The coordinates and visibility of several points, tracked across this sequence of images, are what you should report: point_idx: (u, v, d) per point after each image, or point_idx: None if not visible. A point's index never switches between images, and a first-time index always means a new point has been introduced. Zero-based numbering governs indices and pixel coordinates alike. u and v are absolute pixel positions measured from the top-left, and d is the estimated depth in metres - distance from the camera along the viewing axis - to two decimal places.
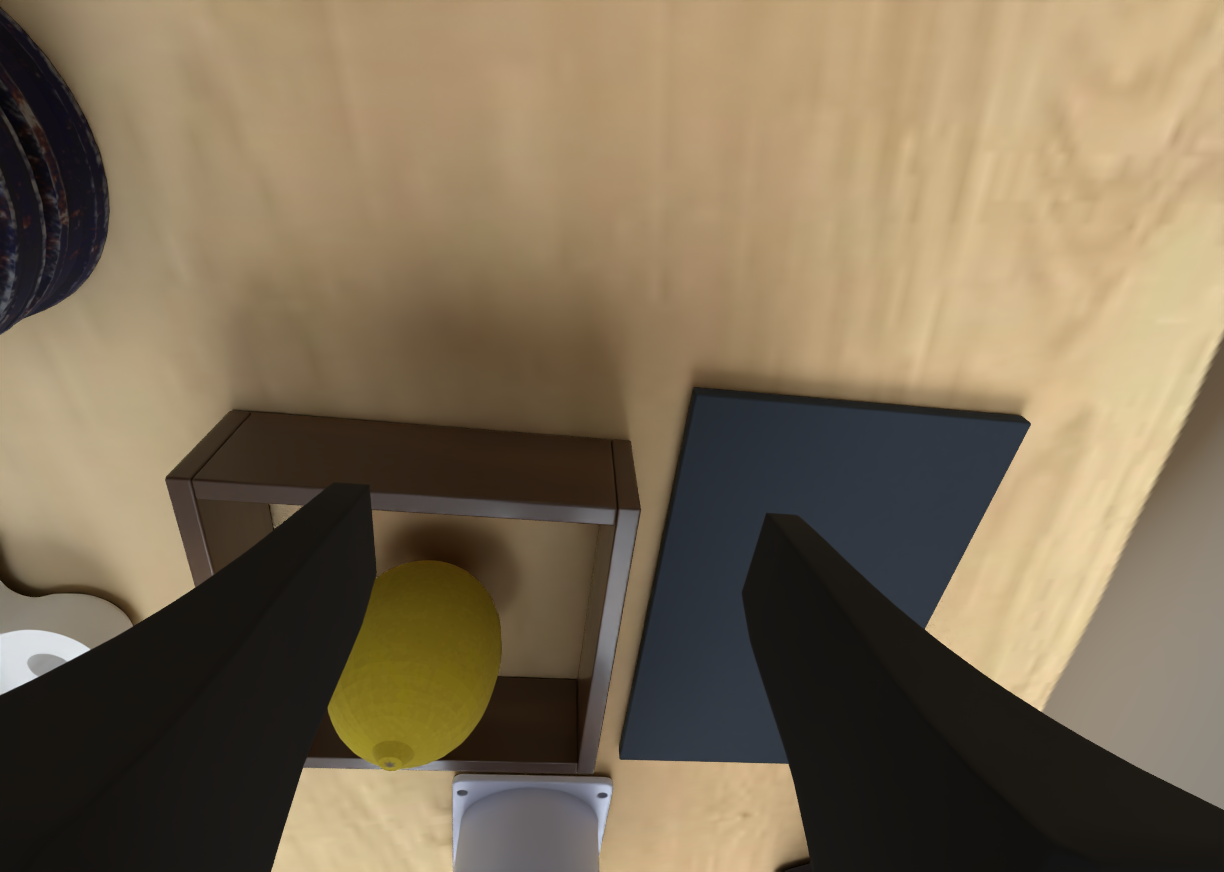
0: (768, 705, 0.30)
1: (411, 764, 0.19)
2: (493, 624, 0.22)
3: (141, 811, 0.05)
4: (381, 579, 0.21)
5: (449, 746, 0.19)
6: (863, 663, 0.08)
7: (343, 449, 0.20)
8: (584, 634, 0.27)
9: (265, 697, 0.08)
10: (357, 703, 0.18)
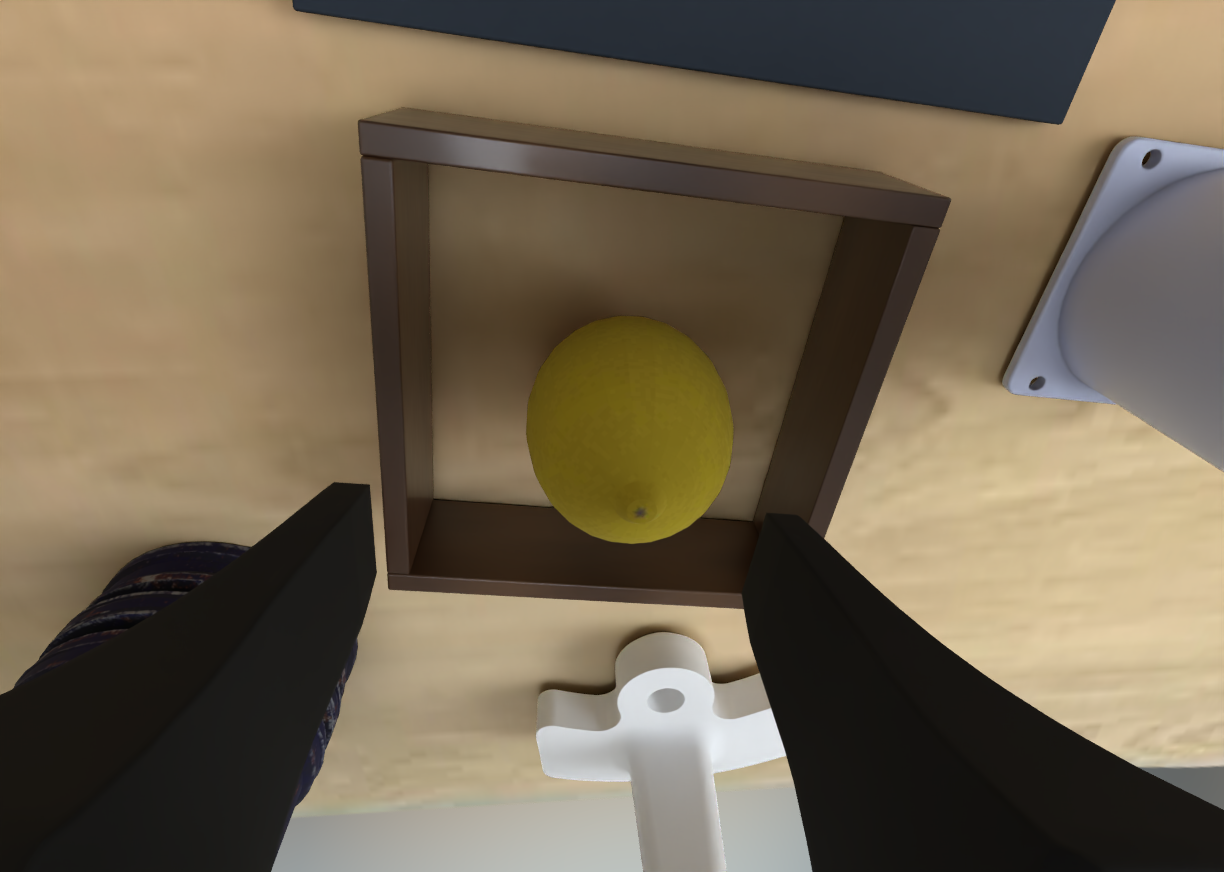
0: None
1: (673, 484, 0.14)
2: (590, 332, 0.16)
3: (139, 811, 0.05)
4: None
5: (666, 433, 0.14)
6: (863, 663, 0.08)
7: None
8: None
9: (265, 697, 0.08)
10: (577, 518, 0.15)
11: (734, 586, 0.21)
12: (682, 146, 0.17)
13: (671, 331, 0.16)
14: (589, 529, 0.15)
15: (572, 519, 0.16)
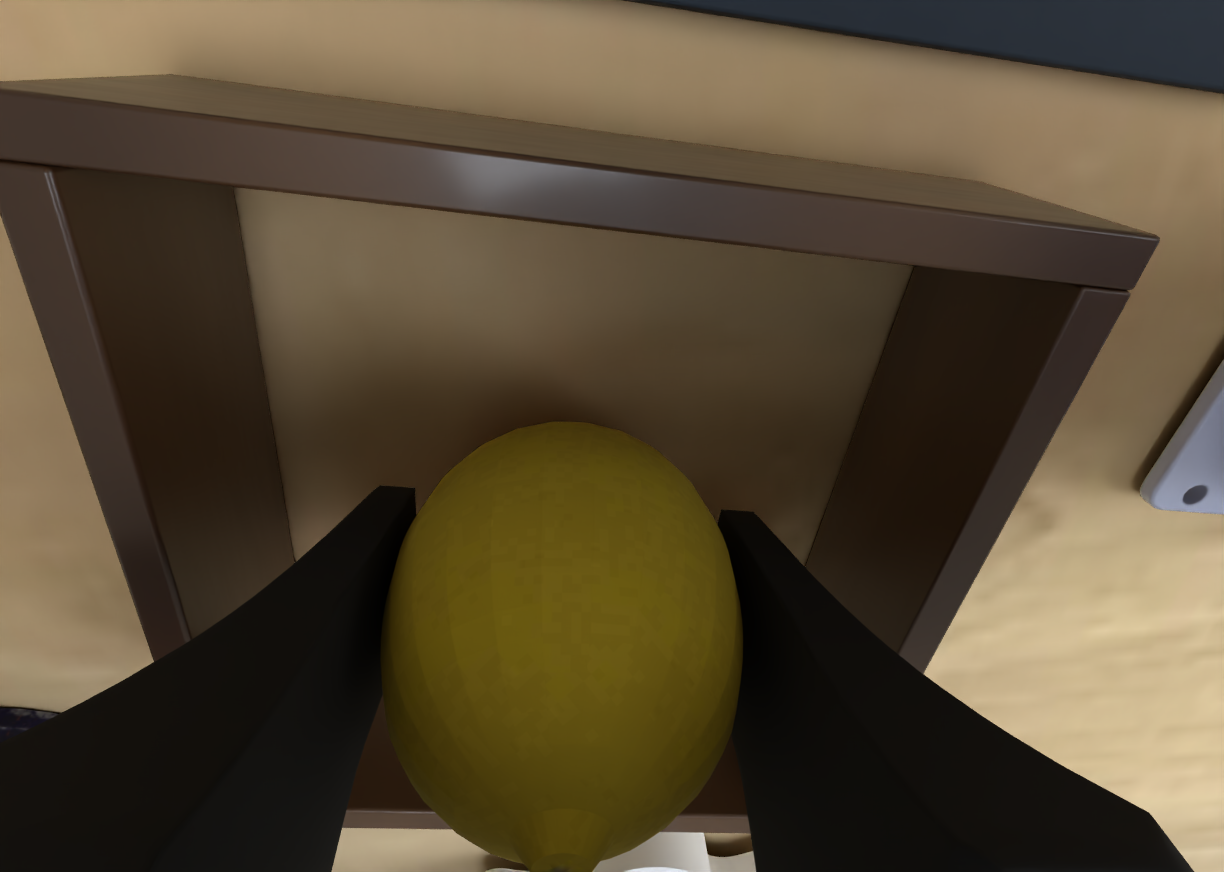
0: None
1: (626, 807, 0.07)
2: (491, 466, 0.09)
3: (235, 812, 0.05)
4: None
5: (612, 713, 0.07)
6: (801, 660, 0.08)
7: None
8: None
9: (331, 699, 0.08)
10: None
11: (743, 801, 0.14)
12: (655, 140, 0.10)
13: (634, 463, 0.09)
14: None
15: None
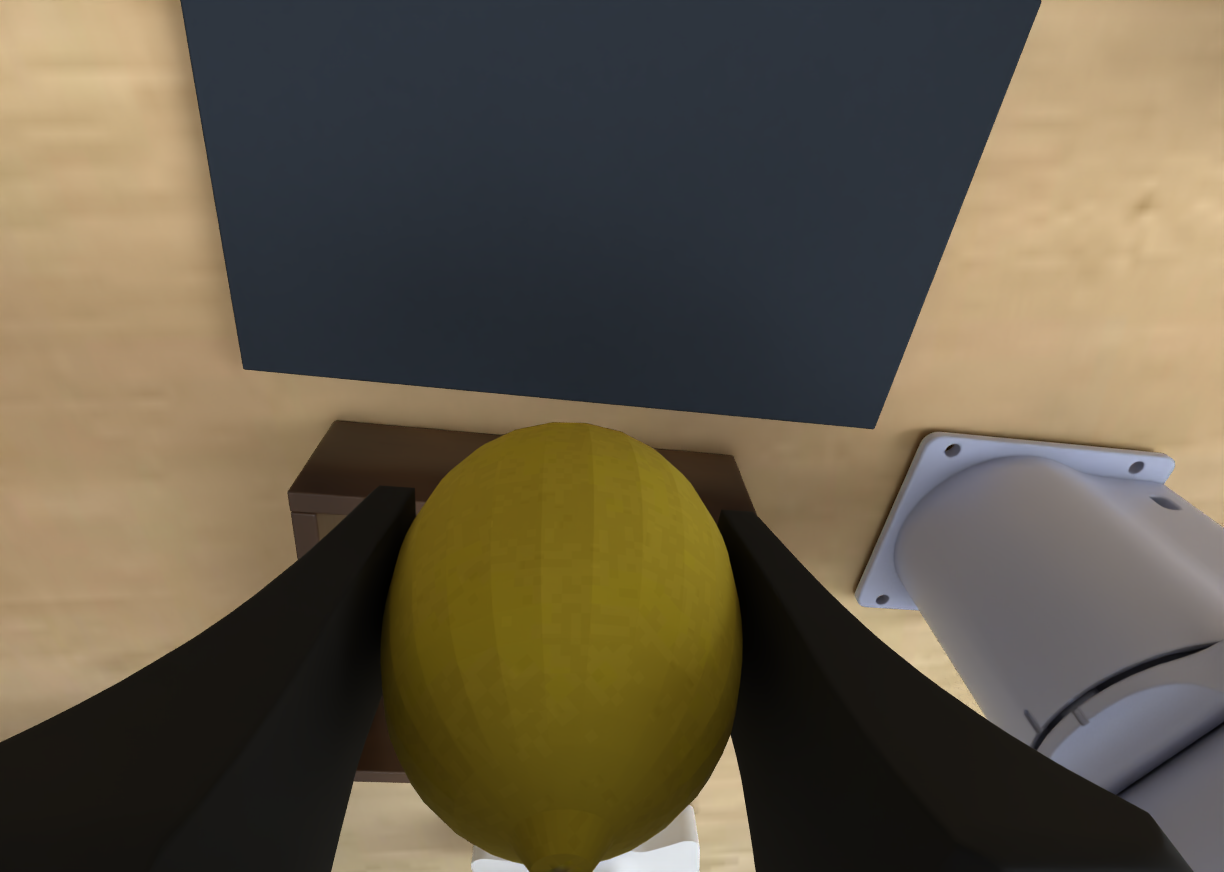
0: (801, 215, 0.18)
1: (626, 807, 0.07)
2: (491, 467, 0.09)
3: (237, 813, 0.05)
4: None
5: (612, 714, 0.07)
6: (800, 660, 0.08)
7: None
8: None
9: (331, 699, 0.08)
10: None
11: None
12: None
13: (634, 464, 0.09)
14: None
15: None
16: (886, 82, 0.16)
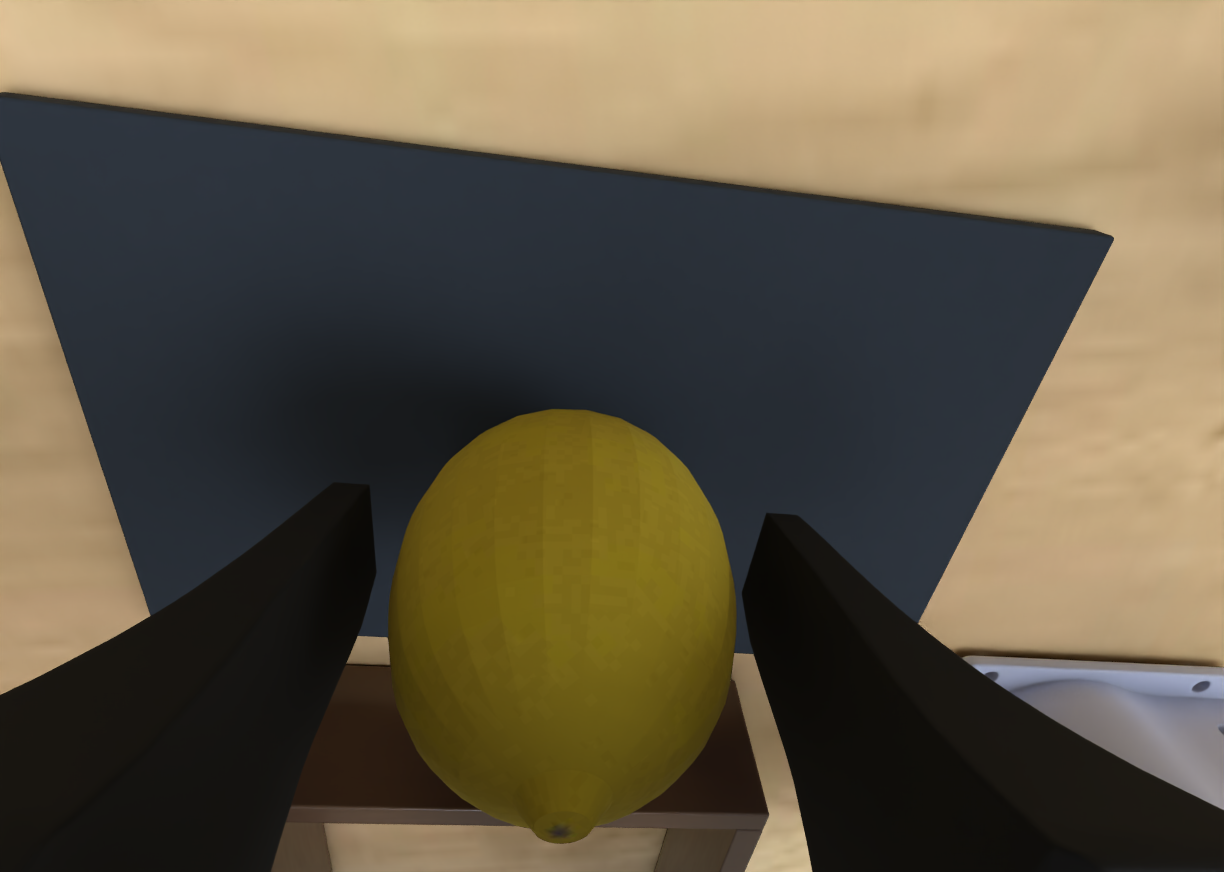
0: (814, 463, 0.15)
1: (624, 769, 0.08)
2: (494, 450, 0.10)
3: (141, 810, 0.05)
4: None
5: (610, 679, 0.07)
6: (863, 663, 0.08)
7: None
8: None
9: (266, 697, 0.08)
10: (460, 795, 0.09)
11: None
12: None
13: (631, 447, 0.10)
14: None
15: None
16: (920, 327, 0.13)
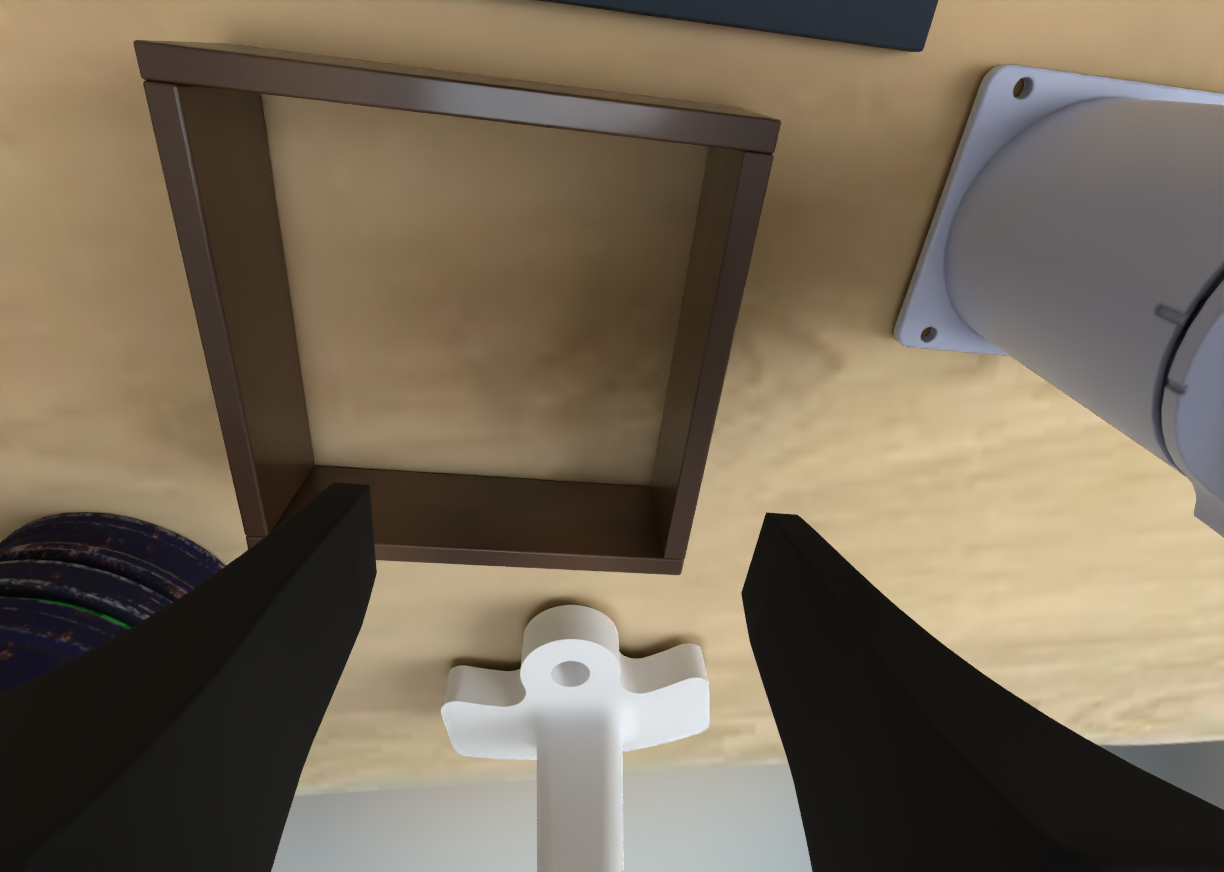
0: None
1: None
2: None
3: (141, 811, 0.05)
4: None
5: None
6: (863, 663, 0.08)
7: None
8: None
9: (266, 697, 0.08)
10: None
11: (614, 548, 0.20)
12: (523, 81, 0.17)
13: None
14: None
15: None
16: None
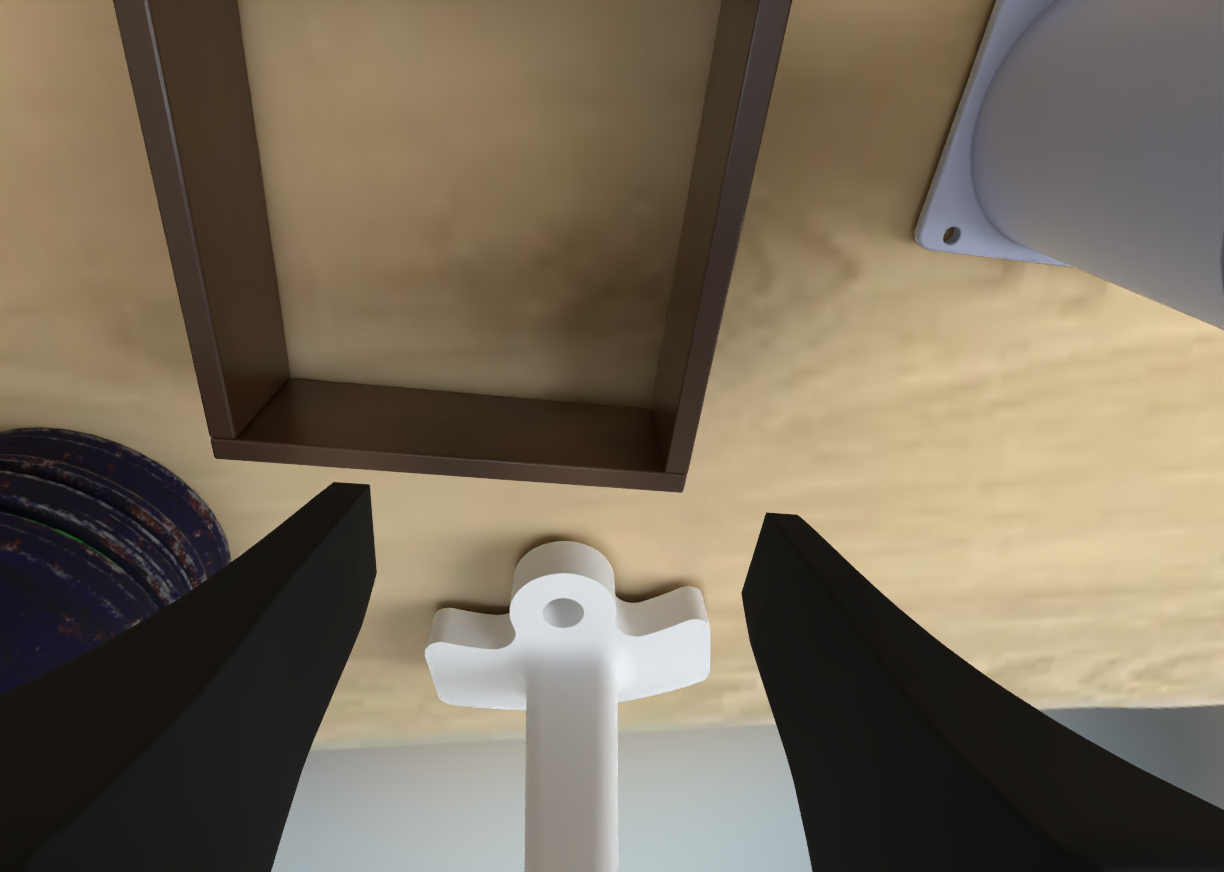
0: None
1: None
2: None
3: (141, 811, 0.05)
4: None
5: None
6: (863, 663, 0.08)
7: None
8: None
9: (266, 697, 0.08)
10: None
11: (612, 462, 0.19)
12: None
13: None
14: None
15: None
16: None
